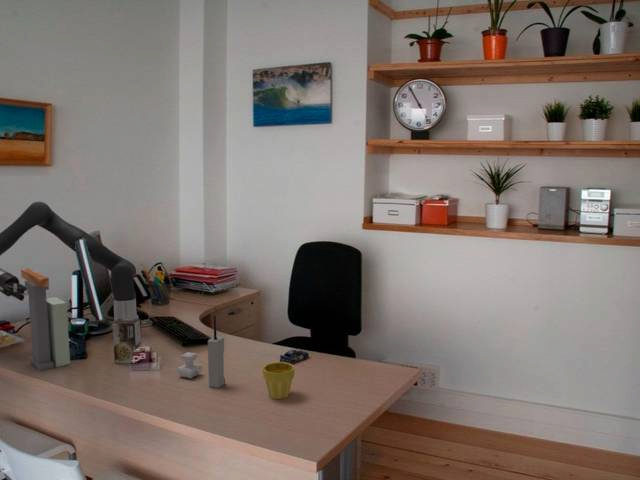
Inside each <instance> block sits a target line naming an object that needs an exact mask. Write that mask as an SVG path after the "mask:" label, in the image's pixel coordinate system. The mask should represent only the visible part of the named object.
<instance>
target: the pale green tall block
mask: <svg viewBox="0 0 640 480" xmlns="http://www.w3.org/2000/svg"><path fill="white" fill-rule="evenodd" d="M46 300H47V316H48V332H49V347H50V360H51V361H52V362H53V363H54V367H56V368H59V367H63V366H67V365H71V358H70V356H71V355H70V354H71V353H70V342H69V341H70V340H69V337H70V336H69V322H68V321H69V320H68V305H67V303H68V302H66V301H65V300H63V299H60V298H58V297H57V296H55V297H48V298H47V297H46Z"/></svg>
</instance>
